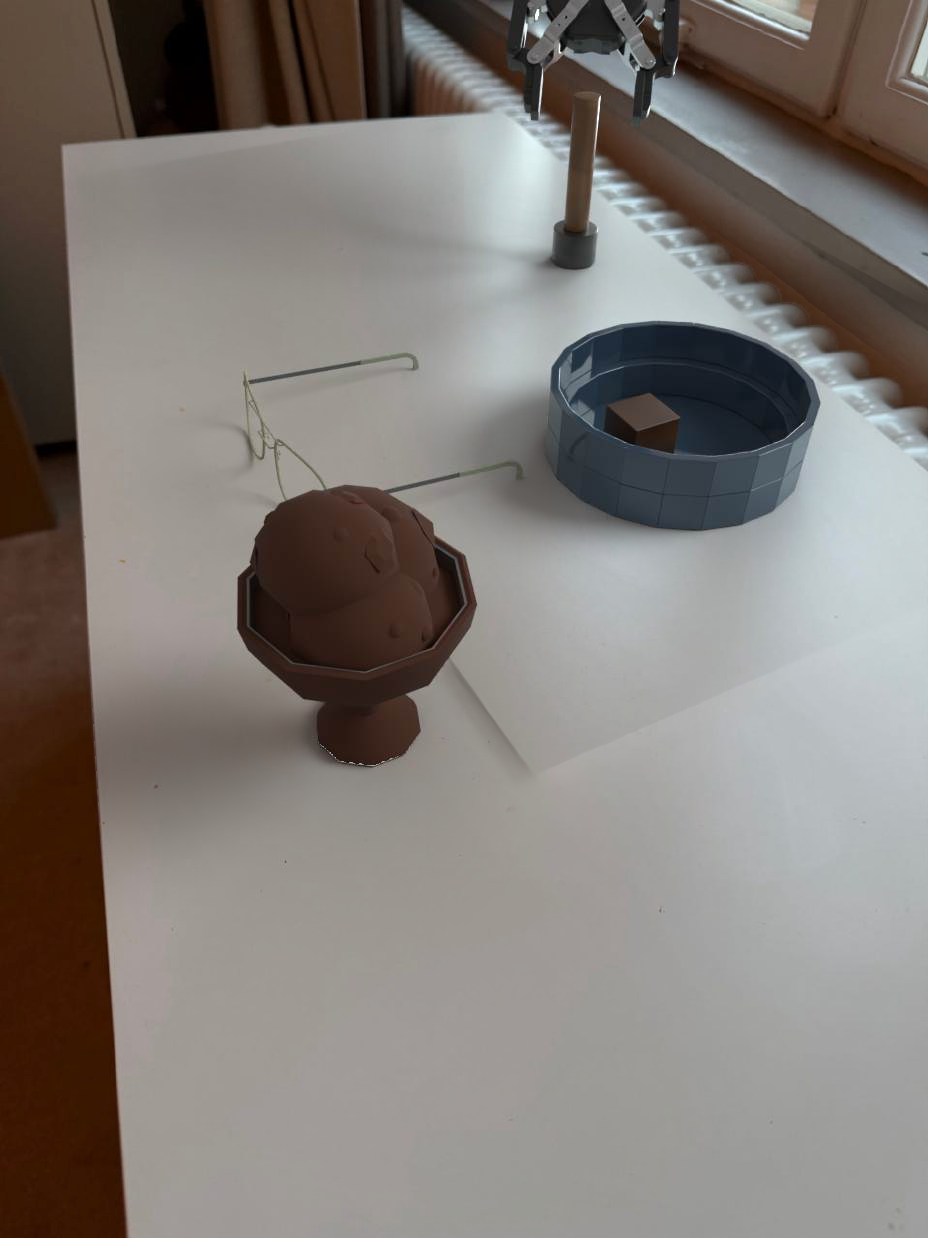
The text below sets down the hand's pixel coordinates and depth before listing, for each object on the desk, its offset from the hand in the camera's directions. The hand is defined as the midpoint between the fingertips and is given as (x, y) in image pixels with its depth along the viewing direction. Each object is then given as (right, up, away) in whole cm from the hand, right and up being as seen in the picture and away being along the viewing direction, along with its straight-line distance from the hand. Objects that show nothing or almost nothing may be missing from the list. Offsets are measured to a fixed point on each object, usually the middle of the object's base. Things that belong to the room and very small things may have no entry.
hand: (585, 118), depth 84 cm
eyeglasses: (-17, -31, -15) cm, 38 cm away
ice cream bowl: (-15, -48, -32) cm, 59 cm away
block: (+2, -31, -16) cm, 35 cm away
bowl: (+4, -31, -15) cm, 35 cm away
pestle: (0, -9, +8) cm, 12 cm away
